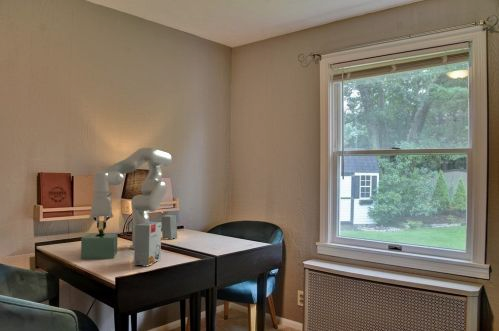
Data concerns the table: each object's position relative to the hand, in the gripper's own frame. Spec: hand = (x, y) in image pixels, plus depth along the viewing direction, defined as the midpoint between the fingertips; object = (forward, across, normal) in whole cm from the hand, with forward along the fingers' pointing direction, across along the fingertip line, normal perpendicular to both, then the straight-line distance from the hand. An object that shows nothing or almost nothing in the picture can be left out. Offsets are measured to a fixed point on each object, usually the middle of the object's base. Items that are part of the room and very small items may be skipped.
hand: (101, 229), depth 213 cm
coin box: (+15, +1, -2) cm, 15 cm away
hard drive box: (+15, -24, +20) cm, 35 cm away
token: (+1, 0, +2) cm, 2 cm away
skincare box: (+16, -38, -49) cm, 64 cm away
